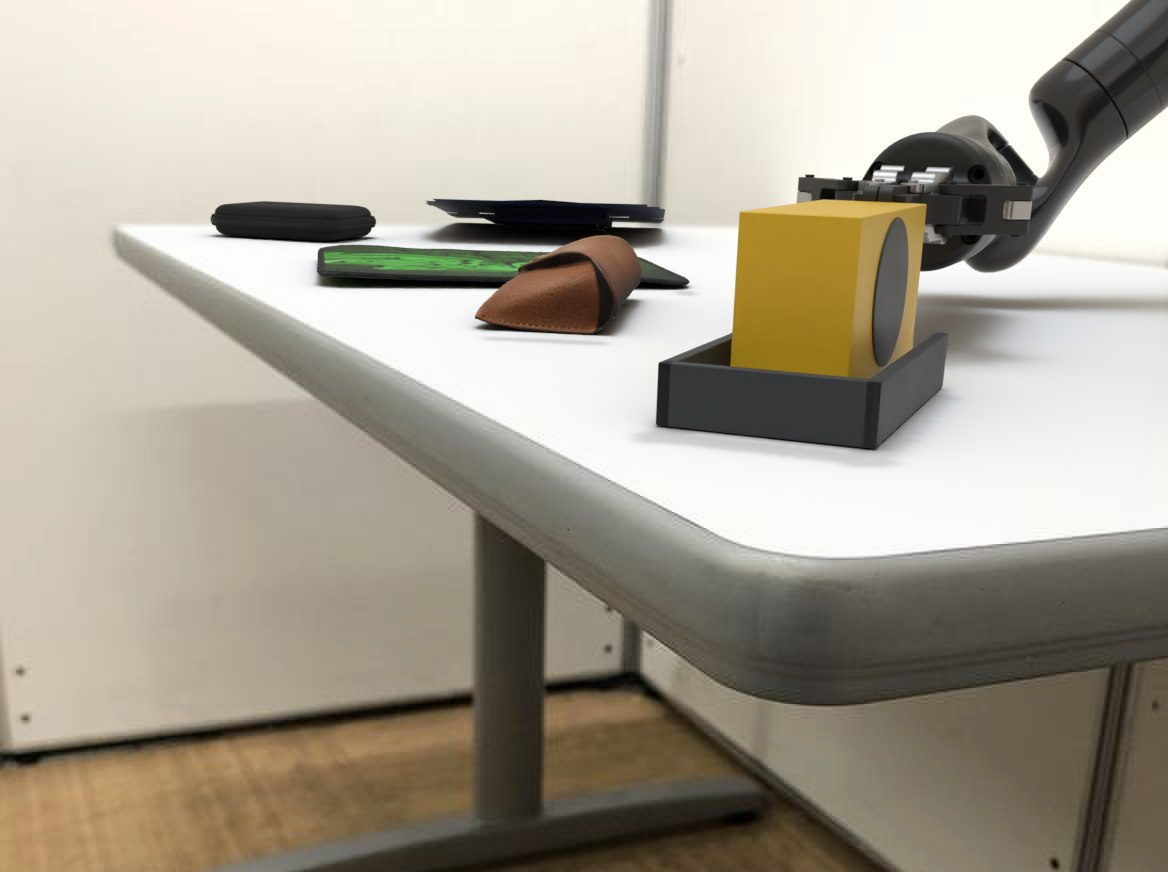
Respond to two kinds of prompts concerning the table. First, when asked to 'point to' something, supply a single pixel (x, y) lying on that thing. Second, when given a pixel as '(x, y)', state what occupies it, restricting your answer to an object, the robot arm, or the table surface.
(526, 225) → the black angular plate
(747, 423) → the u-shaped bracket
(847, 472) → the table surface
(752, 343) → the tape measure
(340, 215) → the carrying case
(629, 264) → the sunglasses case
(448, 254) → the mouse mat
